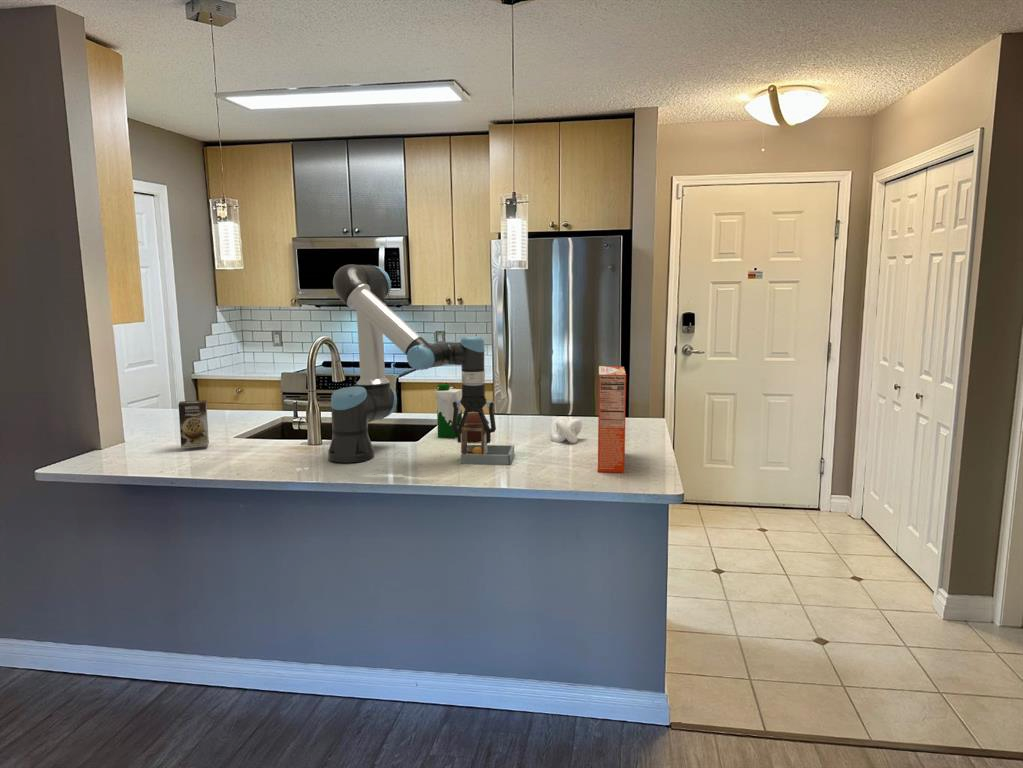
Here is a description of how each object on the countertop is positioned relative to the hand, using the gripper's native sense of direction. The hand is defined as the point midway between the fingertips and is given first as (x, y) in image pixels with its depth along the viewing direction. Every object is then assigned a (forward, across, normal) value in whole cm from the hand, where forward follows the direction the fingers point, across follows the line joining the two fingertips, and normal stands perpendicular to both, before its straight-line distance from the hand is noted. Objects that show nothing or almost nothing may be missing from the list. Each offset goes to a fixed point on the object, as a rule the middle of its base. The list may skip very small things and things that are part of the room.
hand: (474, 452), depth 223 cm
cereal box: (+2, +45, -2) cm, 45 cm away
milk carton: (+2, -14, +33) cm, 36 cm away
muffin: (+2, -4, +28) cm, 28 cm away
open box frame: (+1, 0, 0) cm, 1 cm away
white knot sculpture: (+2, +31, +27) cm, 41 cm away
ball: (0, +1, 0) cm, 1 cm away
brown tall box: (+2, -104, +12) cm, 105 cm away
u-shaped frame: (+2, +5, 0) cm, 5 cm away
